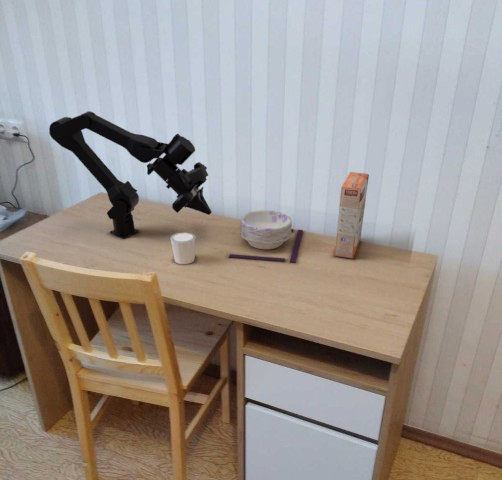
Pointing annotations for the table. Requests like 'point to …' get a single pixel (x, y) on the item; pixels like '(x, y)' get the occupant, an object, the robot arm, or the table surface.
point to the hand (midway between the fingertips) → (210, 213)
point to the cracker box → (351, 214)
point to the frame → (292, 260)
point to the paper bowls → (265, 228)
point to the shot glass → (183, 247)
